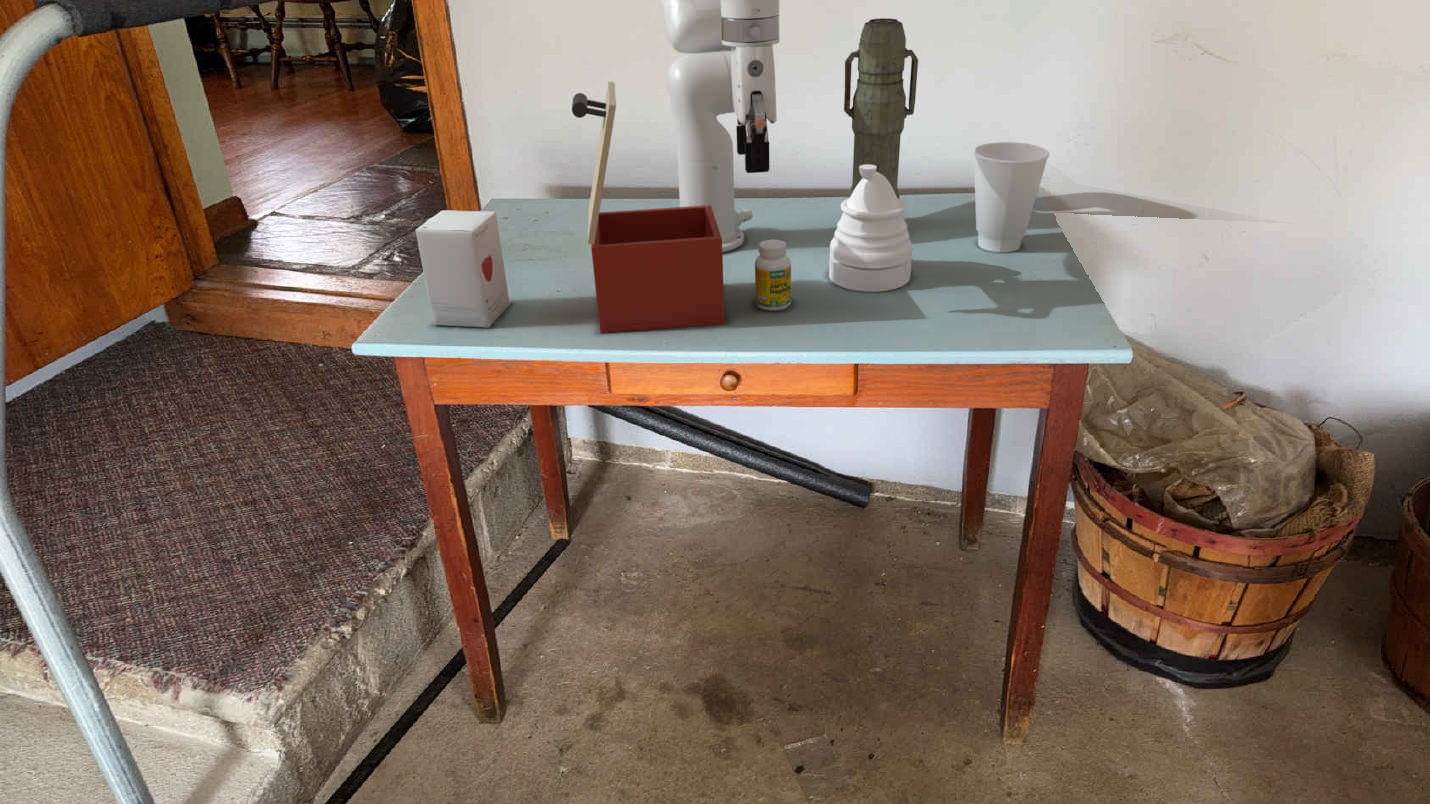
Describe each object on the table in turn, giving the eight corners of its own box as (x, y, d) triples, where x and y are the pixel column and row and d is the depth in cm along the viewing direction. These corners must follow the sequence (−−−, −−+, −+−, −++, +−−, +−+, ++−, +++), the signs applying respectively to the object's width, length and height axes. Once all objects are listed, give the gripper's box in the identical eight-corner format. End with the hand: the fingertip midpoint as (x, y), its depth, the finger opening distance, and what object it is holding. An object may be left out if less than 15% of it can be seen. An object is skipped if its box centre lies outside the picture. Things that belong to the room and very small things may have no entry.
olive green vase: (835, 220, 171) (842, 18, 154) (899, 218, 171) (913, 15, 154) (843, 237, 163) (851, 25, 146) (909, 234, 164) (925, 22, 146)
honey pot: (880, 298, 140) (887, 181, 131) (812, 278, 148) (815, 166, 139) (925, 273, 148) (935, 161, 139) (859, 255, 156) (864, 148, 147)
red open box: (713, 284, 147) (710, 204, 140) (724, 323, 134) (722, 238, 128) (600, 292, 146) (592, 212, 139) (600, 333, 133) (591, 247, 126)
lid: (614, 82, 130) (576, 74, 129) (616, 105, 117) (573, 97, 116) (594, 210, 139) (558, 203, 138) (594, 244, 126) (554, 238, 125)
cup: (1033, 234, 161) (1046, 142, 153) (1037, 259, 151) (1052, 162, 143) (963, 231, 164) (972, 140, 156) (963, 255, 154) (973, 160, 146)
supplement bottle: (776, 294, 143) (776, 235, 138) (798, 305, 139) (798, 244, 134) (748, 303, 140) (747, 243, 135) (769, 314, 136) (768, 253, 131)
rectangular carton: (489, 329, 135) (472, 231, 128) (432, 326, 137) (412, 229, 129) (512, 304, 143) (497, 210, 135) (457, 301, 144) (440, 208, 137)
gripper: (789, 38, 113) (789, 177, 121) (769, 21, 128) (770, 145, 136) (728, 42, 112) (732, 181, 120) (715, 23, 127) (719, 149, 136)
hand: (752, 162), depth 128 cm, fingers open, 9 cm apart
